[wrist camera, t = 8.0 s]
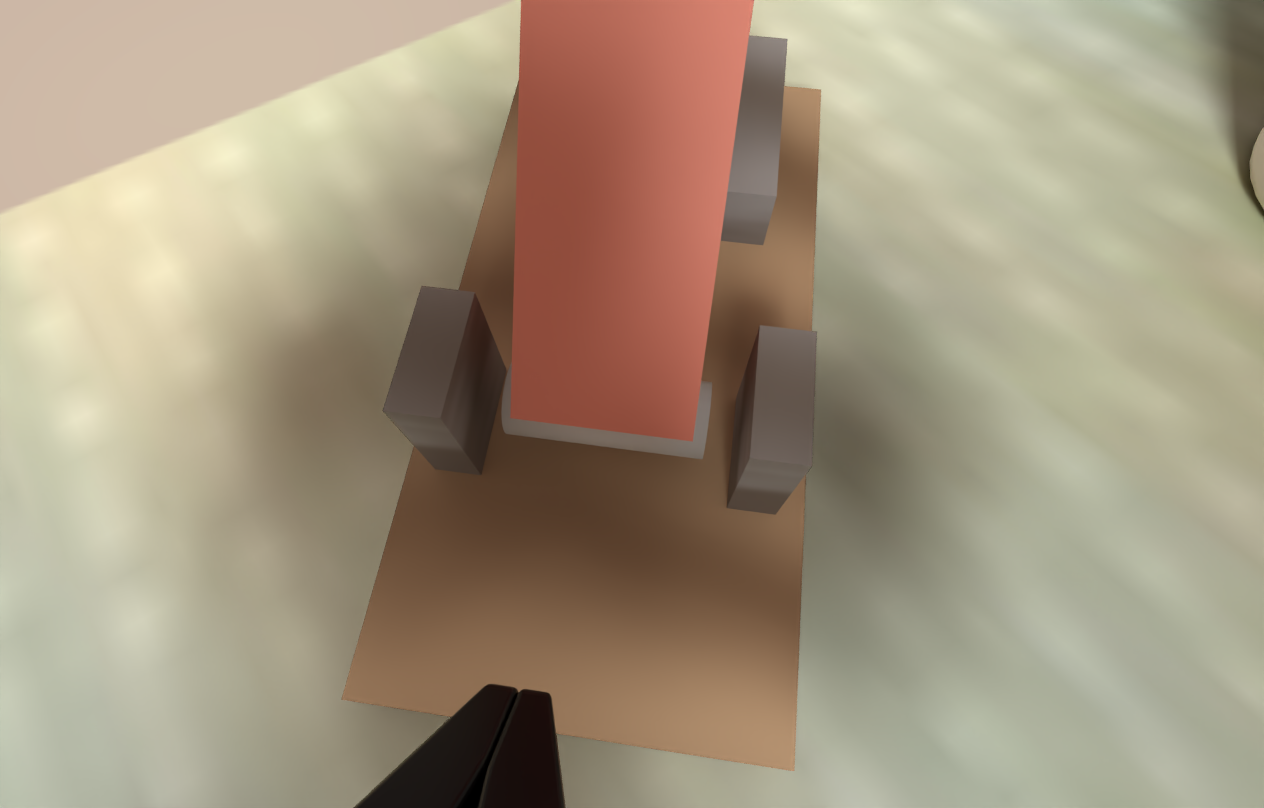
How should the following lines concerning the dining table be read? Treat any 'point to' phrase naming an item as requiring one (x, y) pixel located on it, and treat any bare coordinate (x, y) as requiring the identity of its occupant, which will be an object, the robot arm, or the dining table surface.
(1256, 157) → the milk bottle
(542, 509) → the base
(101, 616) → the dining table surface
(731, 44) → the lever
